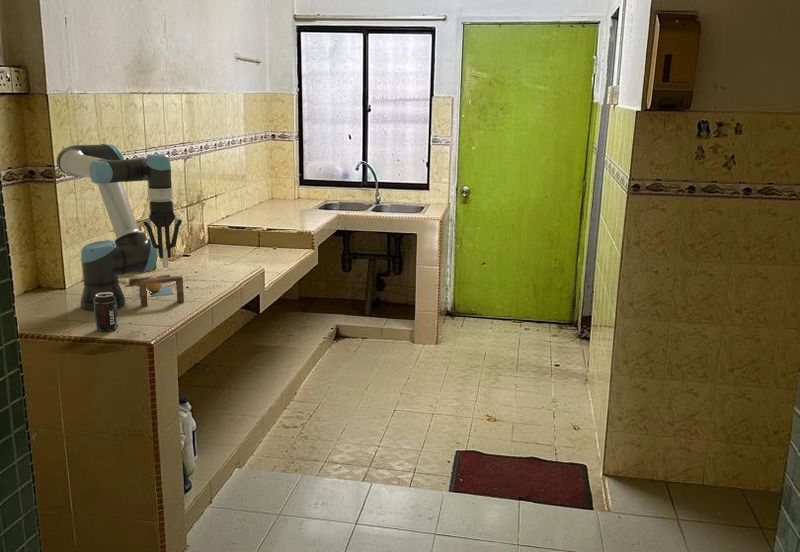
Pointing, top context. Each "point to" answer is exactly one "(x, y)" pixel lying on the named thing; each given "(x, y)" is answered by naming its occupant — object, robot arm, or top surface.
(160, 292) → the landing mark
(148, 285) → the ball
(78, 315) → the top surface
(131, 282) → the wall
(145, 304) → the bridge
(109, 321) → the beverage can
